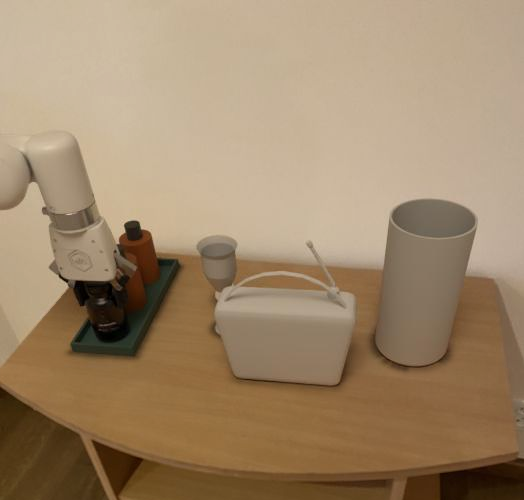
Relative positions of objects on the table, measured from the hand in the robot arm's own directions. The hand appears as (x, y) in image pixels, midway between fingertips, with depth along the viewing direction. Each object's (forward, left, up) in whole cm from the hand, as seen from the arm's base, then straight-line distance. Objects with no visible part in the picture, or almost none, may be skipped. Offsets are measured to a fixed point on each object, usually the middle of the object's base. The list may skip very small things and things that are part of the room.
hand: (104, 302), depth 94 cm
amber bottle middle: (-4, +9, -7) cm, 12 cm away
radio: (+34, +9, -8) cm, 36 cm away
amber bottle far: (-8, +17, -7) cm, 20 cm away
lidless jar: (+12, +21, -8) cm, 25 cm away
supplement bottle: (0, 0, -7) cm, 7 cm away
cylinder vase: (+50, +25, -8) cm, 56 cm away
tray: (-4, +9, -8) cm, 12 cm away
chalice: (+18, +13, -8) cm, 23 cm away
